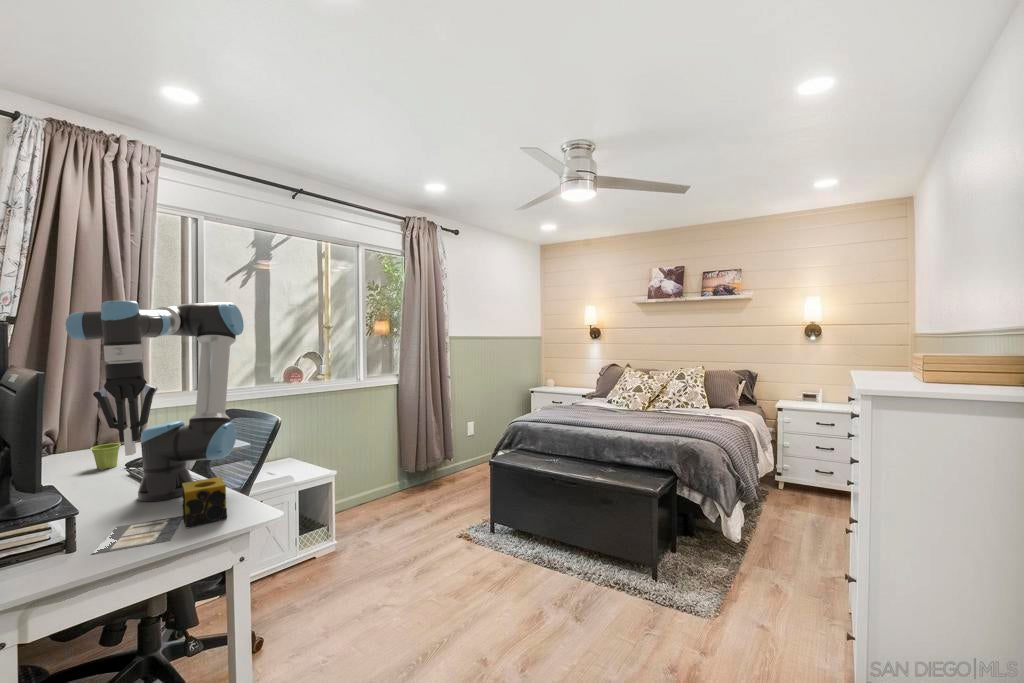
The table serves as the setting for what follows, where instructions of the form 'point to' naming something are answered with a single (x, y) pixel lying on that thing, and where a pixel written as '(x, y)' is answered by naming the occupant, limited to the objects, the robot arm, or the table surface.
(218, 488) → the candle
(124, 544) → the label plate
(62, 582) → the table surface
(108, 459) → the plant pot
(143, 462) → the robot arm
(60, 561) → the table surface
